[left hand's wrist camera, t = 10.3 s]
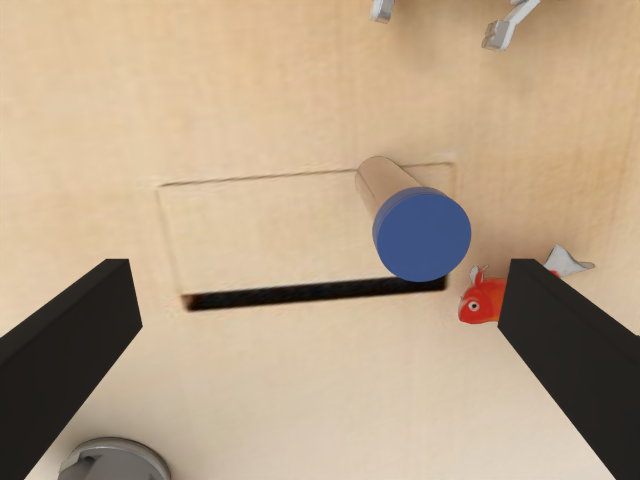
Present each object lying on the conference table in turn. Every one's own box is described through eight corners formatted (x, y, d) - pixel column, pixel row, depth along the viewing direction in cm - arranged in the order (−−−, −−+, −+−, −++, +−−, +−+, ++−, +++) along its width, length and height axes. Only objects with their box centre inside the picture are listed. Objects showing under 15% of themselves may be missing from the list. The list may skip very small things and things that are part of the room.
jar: (356, 202, 40) (385, 275, 23) (353, 159, 38) (381, 204, 22) (400, 198, 40) (459, 268, 23) (398, 154, 38) (462, 195, 21)
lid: (374, 272, 25) (379, 286, 23) (369, 191, 23) (374, 199, 21) (458, 263, 25) (469, 277, 23) (460, 181, 23) (473, 188, 21)
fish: (458, 229, 36) (540, 304, 30) (559, 208, 42) (645, 266, 36) (424, 301, 43) (484, 374, 36) (515, 273, 49) (581, 332, 43)
